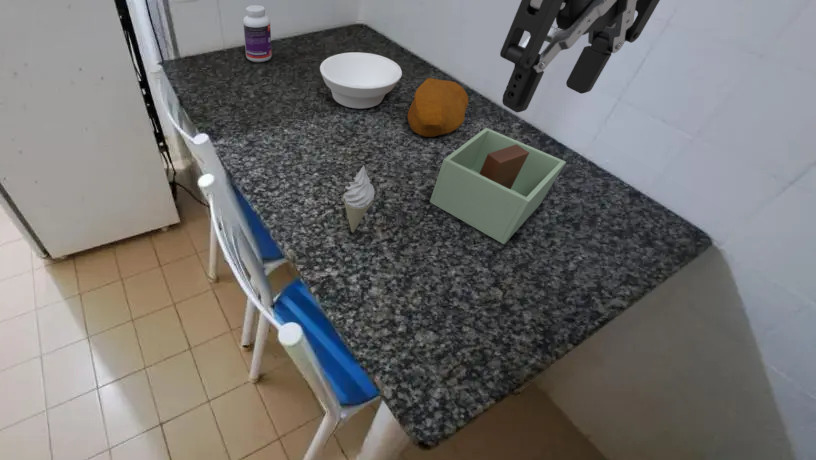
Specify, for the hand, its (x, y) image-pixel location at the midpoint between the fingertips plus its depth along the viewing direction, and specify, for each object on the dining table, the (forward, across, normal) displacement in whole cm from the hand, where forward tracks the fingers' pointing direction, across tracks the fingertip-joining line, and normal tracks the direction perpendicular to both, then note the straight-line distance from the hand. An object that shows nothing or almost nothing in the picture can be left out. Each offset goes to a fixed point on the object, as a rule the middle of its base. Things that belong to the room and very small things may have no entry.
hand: (545, 98), depth 36 cm
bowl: (+34, +22, +62) cm, 74 cm away
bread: (+34, +34, +42) cm, 64 cm away
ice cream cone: (+34, -5, +19) cm, 40 cm away
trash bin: (+34, +23, +15) cm, 43 cm away
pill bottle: (+34, +7, +97) cm, 103 cm away
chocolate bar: (+33, +23, +15) cm, 43 cm away
